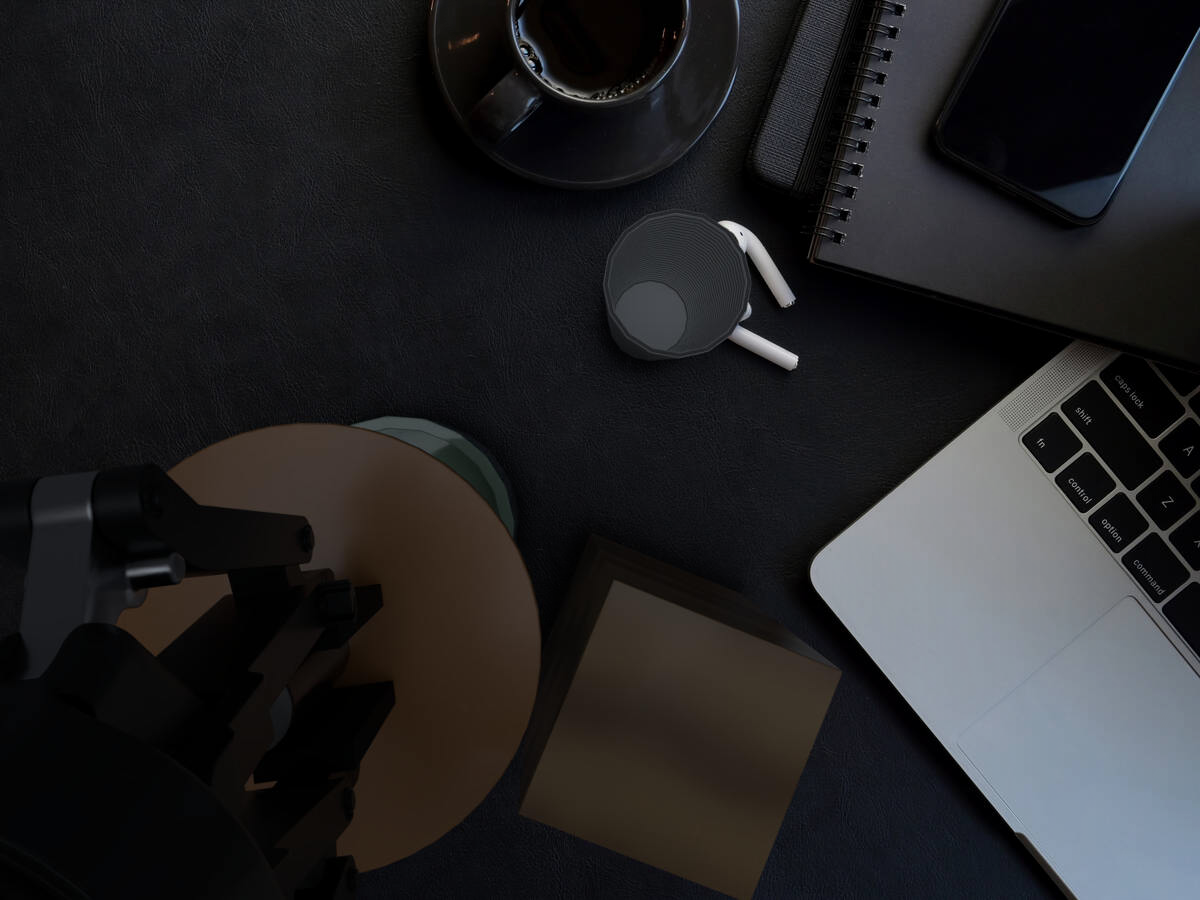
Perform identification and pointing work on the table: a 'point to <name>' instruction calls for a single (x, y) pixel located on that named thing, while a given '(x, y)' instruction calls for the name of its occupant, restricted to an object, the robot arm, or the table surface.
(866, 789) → the table surface
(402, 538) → the lid
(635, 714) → the stand
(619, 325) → the cup
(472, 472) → the pot
